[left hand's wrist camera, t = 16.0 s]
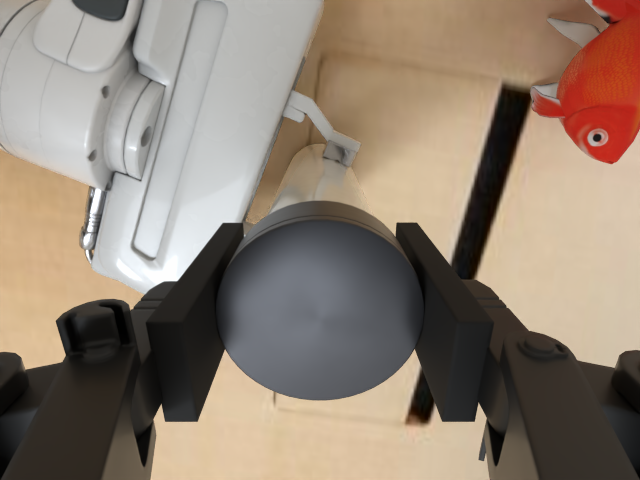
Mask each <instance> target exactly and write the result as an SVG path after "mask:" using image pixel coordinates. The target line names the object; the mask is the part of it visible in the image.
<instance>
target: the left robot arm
mask: <svg viewBox="0 0 640 480" xmlns="http://www.w3.org/2000/svg"><path fill="white" fill-rule="evenodd" d="M243 238H244V228H243V223H222V224H221V226H220V227H219V228H218V230H217V231H216V232H215V233H214V235H213V236H212V237H211V239H210V240H209V241H208V242H207V244H206V245H205V246H204V248H203V249H202V250H201V251H200V253H199V254H198V255H197V257H196V258H195V259H194V260H193V262H192V263H191V264H190V266H189V267H188V268H187V270H186V271H185V272H184V273H183V275H182V276H181V277H180V279H179V280H178V281H163V282H161V283H160V284H158V285H156V286H155V287H153V288H151V289H149V291H148V292H147V293H146V294H145V295H144V296H143V297H142V298H141V301H139V302H138V303H137V304H136V305H135V306H134V309H132V310H131V311H130V308H129V305H128V304H127V303H126V302H124V301H122V300H116V299H103V300H97V301H92V302H87V303H85V304H82V305H79V306H77V307H74V308H72V309H70V310H69V311H67V312H65V313H63V314H62V315H61V316H60V317H59V318H58V319H57V320H56V324H57V327H58V330H59V334H60V337H61V340H62V344H63V347H64V350H65V354H66V356H65V358H64V360H63V362H61V363H57V364H52V365H47V366H42V367H37V368H32V369H27V370H25V367H24V365H23V362H22V359H21V357H20V356H18V355H17V354H16V353H9V352H0V480H150V478H151V471H152V463H153V456H154V448H155V441H156V430H155V425H154V420H153V419H154V417H155V415H156V413H157V411H158V409H159V407H160V405H161V403H162V408H163V413H164V418H165V422H198V419H199V416H200V414H201V411H202V408H203V406H204V403H205V400H206V398H207V395H208V393H209V390H210V387H211V385H212V382H213V379H214V377H215V374H216V371H217V369H218V366H219V363H220V361H221V358H222V355H223V353H224V350H225V348H224V346H223V343H222V341H221V339H220V336H219V333H218V329H217V323H216V315H215V300H216V294H217V289H218V286H219V283H220V281H221V278H222V276H223V274H224V272H225V270H226V268H227V266H228V265H229V263H230V261H231V259H232V257H233V255H234V254H235V252H236V250H237V248H238V246H239V245H240V243H241V241H242V240H243ZM396 239H397V240H398V241H399V243H400V245H401V247H402V249H403V250H404V252H405V254H406V256H407V258H408V260H409V261H410V263H411V265H412V267H413V269H414V271H415V272H416V274H417V276H418V278H419V281H420V284H421V287H422V290H423V296H424V301H425V312H424V321H423V328H422V332H421V335H420V338H419V340H418V343H417V345H416V347H415V351H416V353H417V356H418V359H419V361H420V364H421V367H422V369H423V372H424V375H425V377H426V380H427V382H428V385H429V388H430V390H431V393H432V396H433V398H434V401H435V404H436V406H437V409H438V412H439V414H440V417H441V420H442V422H475V417H476V412H477V407H478V402H479V404H480V406H481V407H482V409H483V411H484V413H485V415H486V417H487V420H486V425H485V429H484V434H483V439H482V443H481V448H480V453H479V460H481V461H484V458H485V454H486V455H487V462H488V470H489V477H490V480H640V351H639V350H633V351H625V352H624V353H622V354H621V355H619V358H618V361H617V364H616V367H615V368H612V367H607V366H602V365H597V364H591V363H586V362H582V361H578V360H576V358H575V356H574V354H573V353H572V352H571V351H570V350H569V348H568V347H567V346H565V345H564V344H562V343H561V342H559V341H558V340H556V339H554V338H551V337H549V336H547V335H544V334H540V333H536V332H532V331H528V329H527V328H526V327H525V326H524V325H523V324H522V323H521V322H520V321H519V319H518V318H517V317H516V316H515V315H514V314H513V313H512V312H511V310H510V309H509V308H506V305H505V304H504V303H503V302H502V300H499V297H498V296H497V295H496V294H495V293H494V292H493V290H492V289H491V288H489V287H488V286H486V285H484V284H482V283H481V282H479V281H477V280H461V279H460V278H459V276H458V275H457V274H456V272H455V271H454V270H453V269H452V267H451V266H450V265H449V263H448V262H447V261H446V259H445V258H444V257H443V256H442V254H441V253H440V252H439V250H438V249H437V248H436V247H435V245H434V244H433V243H432V241H431V240H430V239H429V238H428V236H427V235H426V234H425V232H424V231H423V230H422V229H421V227H420V226H419V225H418V223H397V225H396Z"/></svg>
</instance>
